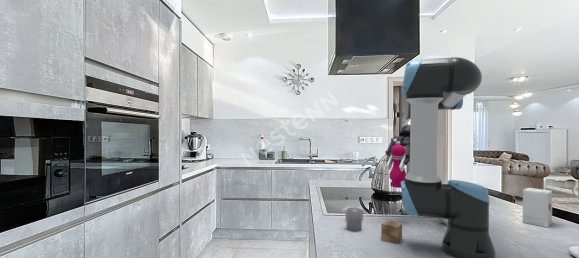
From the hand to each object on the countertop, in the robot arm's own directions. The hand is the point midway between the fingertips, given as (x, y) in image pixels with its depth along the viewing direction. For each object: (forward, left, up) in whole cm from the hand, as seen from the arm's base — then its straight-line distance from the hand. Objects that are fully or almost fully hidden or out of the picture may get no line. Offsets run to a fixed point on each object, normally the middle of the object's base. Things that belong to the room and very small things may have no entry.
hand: (394, 168), depth 125 cm
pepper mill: (0, -4, -8) cm, 9 cm away
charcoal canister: (+9, +17, -24) cm, 31 cm away
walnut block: (-7, +17, -24) cm, 31 cm away
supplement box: (-44, -50, -24) cm, 71 cm away
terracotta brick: (+15, +7, -24) cm, 30 cm away
